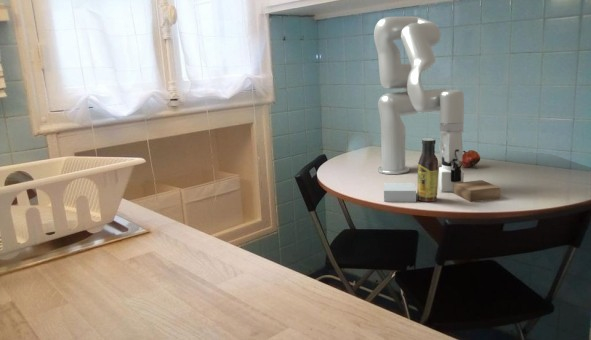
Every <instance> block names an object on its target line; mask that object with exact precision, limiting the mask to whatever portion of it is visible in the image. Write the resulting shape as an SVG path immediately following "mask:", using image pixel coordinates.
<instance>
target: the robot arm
mask: <svg viewBox="0 0 591 340" xmlns="http://www.w3.org/2000/svg"><path fill="white" fill-rule="evenodd" d="M441 34H442V33H441V30H440V28H439V26H438V25H437V24H436V23H434V22H432V21H430V20H428V19H424V18H422V17H419V16H413V15H412V16H405V15H404V16H386V17H383V18H381V19H379V21H377V23H376V24H375V27H374V31H373V40H374V44H375V48H376V51H377V56H378V60H377V61H378V71H379V79H380V80H379V81H380V85H381V87H382V88H383V89H386V90H397V89H398V90H399V89H402V90H403V91H396V92H388V93H387V92H386V93H384V94H383V95H381V96H380V97H379V99H378V101H377V102H378V103H377V108H378V113H379V119H380V120H379V121H380V143H381V144H380V146H381V147H380V148H381V149H380V150H381V156H380V158H381V165H380V166H378V168H377V172H378V173H379V174H385V175H401V174H407V173H409V172H410V167H409V166H406V126H405V123H404V121H403V120H402V118H401V117H404V116H411V115H412V116H413V115H417V114H418V113H421V114H422V113H423V114H424V113H433V112H439V133H440V135H439V150H438V157H439V160H441V161H442V157H444V161H445V162H447V163H450V162H451V166H452V170H451V182H460V181H461V169H462V166H463V165H462V156H463V154H464V152H463V151H464V150H463V136H462V135H463V132H464V118H465V117H464V116H465V115H464V114H465V113H464V111H465V106H464V105H465V98H464V97H465V94H464V92H463V90H461V89H460V90H459V89H447V88H436V89H435V88H434V89H424V86H423V84H422V81H421V75H422V73H423V72H424V73H425V71H427V70H429V69H430V68H432V67H433V65H435V62H436V57H435V53H434V52H433V49H432V47H435V46H436V45H438V43H440V41H441V36H442V35H441ZM398 40H399V41H402V44H403V45H402V46H403V47H404V50H405V53H406V56H407V58H408V61H409V63H402V59H401V51H400V49H399V48H398V45H397V44H396V43H395V42H394V41H398ZM454 159H457V161H453V160H454ZM455 163H456V164H455ZM454 164H455V166H454Z"/></svg>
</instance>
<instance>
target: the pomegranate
mask: <svg viewBox="0 0 591 340" xmlns="http://www.w3.org/2000/svg"><path fill="white" fill-rule="evenodd" d="M480 161H481V155H480V154H479V153H478V152H477V151H475V150H472V149H471V150H468V151H466V150H463V155H462V166H463V167H464V168H467V169H468V168H473V167H474V168H475V169H476V170H478V169H477V167H476V165H477V164H478V163H479V162H480Z"/></svg>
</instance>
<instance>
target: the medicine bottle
mask: <svg viewBox="0 0 591 340" xmlns="http://www.w3.org/2000/svg"><path fill="white" fill-rule="evenodd" d="M453 161H457V159H454V160H453ZM455 164H456V163H455ZM455 164H454V166H455ZM451 170H452V166H451V162H450V163H447V162H445V161H444V157H442V160H441V166H438V188H439V189H440V192H441V193H454V183H460V182H464V177H465V176H464V174H465V173H464V170H463V168H461V181H460V182H451Z"/></svg>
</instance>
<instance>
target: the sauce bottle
mask: <svg viewBox="0 0 591 340" xmlns="http://www.w3.org/2000/svg"><path fill="white" fill-rule="evenodd" d="M421 145H422V151H421V154H420V157H419V160H418V162H417V189H416V195H417V199H418V200H419V201H421V202H428V203H429V202H430V203H431V202H435V201H437V199H438V188H439V161H438V156H436V153H435V152H436V151H435V149H436V139H435V138H431V137H426V138H422V139H421Z"/></svg>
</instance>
